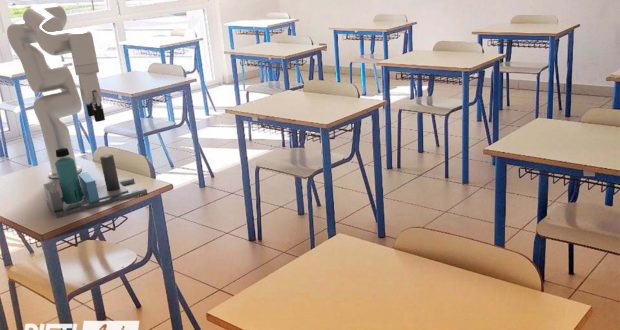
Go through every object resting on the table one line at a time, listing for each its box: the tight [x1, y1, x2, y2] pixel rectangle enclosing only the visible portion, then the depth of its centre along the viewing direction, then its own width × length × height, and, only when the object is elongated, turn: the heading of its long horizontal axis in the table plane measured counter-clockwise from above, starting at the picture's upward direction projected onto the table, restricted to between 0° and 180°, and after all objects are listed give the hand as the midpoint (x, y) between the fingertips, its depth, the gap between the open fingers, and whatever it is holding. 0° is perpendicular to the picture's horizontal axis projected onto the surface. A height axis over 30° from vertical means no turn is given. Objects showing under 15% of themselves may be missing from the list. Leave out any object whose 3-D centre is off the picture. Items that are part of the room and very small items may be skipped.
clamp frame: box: [43, 177, 148, 219], centre depth 219 cm, size 17×30×8 cm, turn 122°
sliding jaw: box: [77, 154, 130, 203], centre depth 219 cm, size 12×13×14 cm
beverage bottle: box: [55, 148, 84, 205], centre depth 213 cm, size 6×7×20 cm
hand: (96, 118), depth 217 cm, fingers open, 9 cm apart
